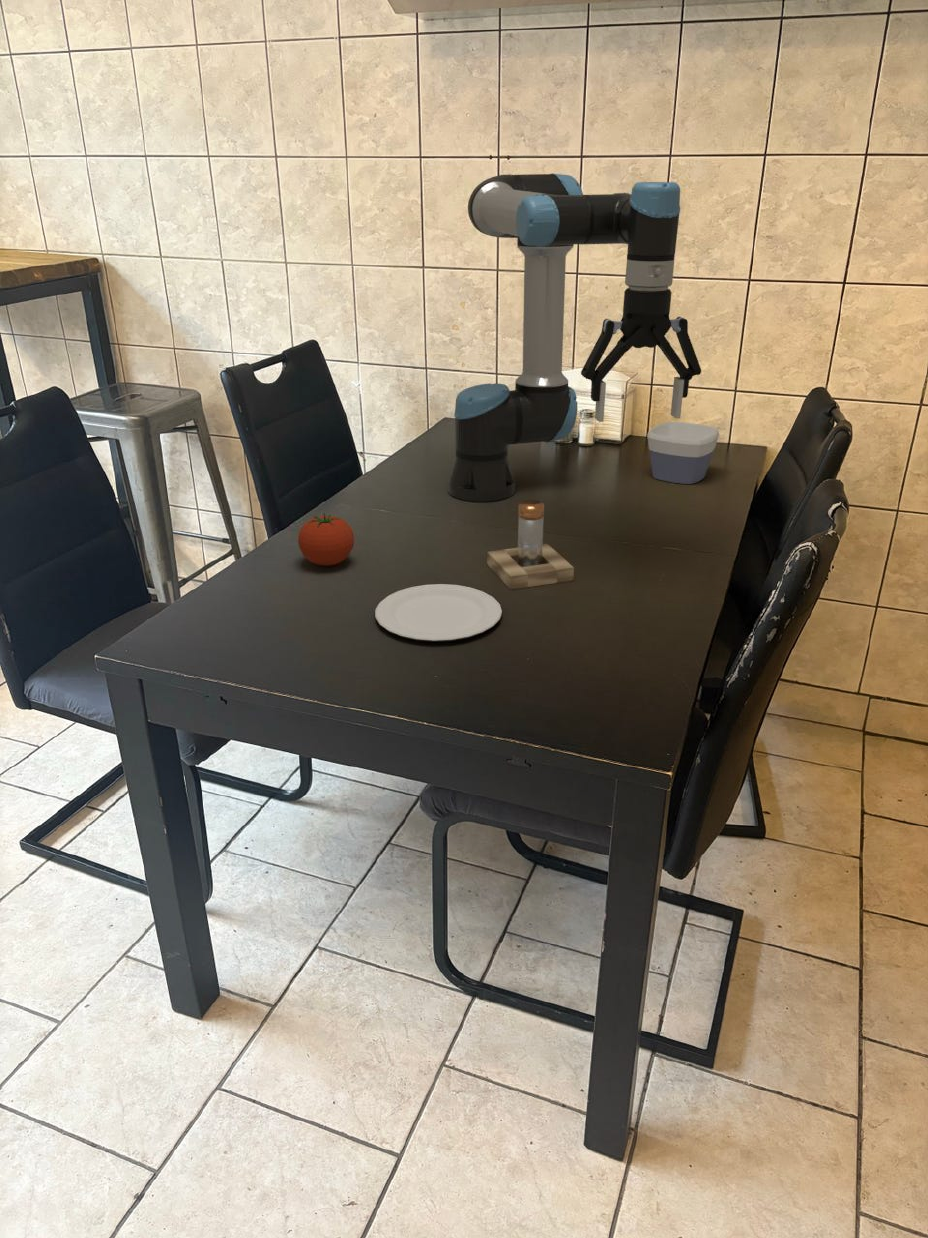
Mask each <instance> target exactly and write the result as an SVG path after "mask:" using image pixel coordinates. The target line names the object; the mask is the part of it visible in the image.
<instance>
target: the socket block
mask: <svg viewBox="0 0 928 1238" xmlns="http://www.w3.org/2000/svg"><path fill="white" fill-rule="evenodd" d="M486 554H487V556H486V557H487V559H486V560H487V561H486V563H487V565H488V566H489V568H490V569H491V570H492V571H493V572H494V573H495V575H496V576H497V577H498V578H499V579H500V580H501V581H502V582H503V583H504V584H505V586H507V588H508V589H509V590H517V589H518V590H519V589H525V588H532V587H537V586H538V587H539V586H546V585H551V584H558V583H566V582H572V581H574V573H575V566H573V565H572V564H571V563H569V562H568V561H567V560H566V559H565V558H564V557H563V556H561V554H559V552H557V551H556V550H555V549H554V548H552V546H550V545H549V544H548V543H543V546H542V564H541V565H534V566H527V567H520V566H519V565H518V547H513V548H504V549H499V550H491V551H487V553H486Z"/></svg>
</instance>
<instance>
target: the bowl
mask: <svg viewBox="0 0 928 1238" xmlns="http://www.w3.org/2000/svg"><path fill="white" fill-rule="evenodd" d="M646 436H647V444H648V450H649V451H648V452H649V458H650V465H651V472H652V478H653V479H656V480H658V481H662V482H667V483H673V484H682V485H694V484H697V483H698V482H700V481H701V480H703V479H704V478H705V476H706V474H707V471H708V468H709V465H710V462H711V460H712V456H713V455H714V451H715V449H716V446H717V444H718V440H719V437H720V432H719V429H718V428H717V427H714V426H708V425H704V424H697V423H690V422H681V421H665V422H661V423H659V424H657V425H655V426H653V427H652V428H650V430H649V431H648V432H647V435H646Z"/></svg>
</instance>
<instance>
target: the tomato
mask: <svg viewBox="0 0 928 1238" xmlns="http://www.w3.org/2000/svg"><path fill="white" fill-rule="evenodd" d="M297 542H298V547H299V549H300V552H301V553H302V555H303V556H304V558H306V559H307V560H308V561H309V562H311V563H313V564H316V565H317V566H318V565H319V566H326V567H327V566H328V567H329V566H334V565H338V564H339V563H342V562H343V561H344V560H346V559H347V558H348V557H349V556H350V554H351V552H352V550H353V548H354V545H355V543H354V542H355V536H354V531H353V530H352V528H351V526H350V525H349V523H348V522H346V521H345V520H344V519H343V518H341V517H338V516H335V515H331V514H326V513H325V512H323V515H320V516H319V515H315V516H313V517H311V518H310V519H308V520H307V521H306V522H305V523H304V524H303V525H302V526H301V528H300V530H299V534H298V537H297Z"/></svg>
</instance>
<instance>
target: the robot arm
mask: <svg viewBox="0 0 928 1238" xmlns="http://www.w3.org/2000/svg"><path fill="white" fill-rule="evenodd" d="M631 189H632V190H631V193H628V192H619V193H618V192H615V193H612V194H611V193H609V194H608V193H607V194H606V193H604V194H600V193H599V194H584V192H583V190H582V187H581V185H580V183H579V181H578V180H577V179H576V178H575V177H573V176H572V175H569V174H561V173H546V174H545V173H544V174H542V173H541V174H540V173H539V174H538V173H535V174H533V173H531V174H525V173H524V174H499V175H495V176H492V177H488V178H486V179H485V180H483V181H482V182H480V183H478V184H477V185H476V187H475V188H474V189H473V191H472V192H471V194H470V196H469V199H468V202H467V203H468V204H467V213H468V217H469V221H470V222H471V225H472V226H473V227H474V228H475V229H476V230H477V231H478V232H479V233H482V234H484V235H486V236H490V237H493V238H503V239H508V238H509V239H517V240H516V241H517V242H516V243H517V244H516V245H517V249H519V251H520V252H521V253H522V254H523V257H524V259H523V260H524V265H523V266H524V267H523V269H524V271H523V317H522V318H523V320H522V321H523V324H522V325H523V328H522V372H521V374H520V375H519V376H518V377H517V378H516V379H515V386H514V387H515V388H514V390H511V389H510V388H509V387H508V385H506V384H504V383H481V384H476V385H472V386H470V387H468V388H467V387H466V388H465V389H463V390H461V391H460V392H459V393H458V394H457V396H456V398H455V405H454V406H455V407H454V419H455V421H454V422H455V423H454V424H455V460H454V463H453V466H452V468H451V471H450V476H449V479H448V482H447V483H448V484H447V487H448V488H447V489H448V490H447V492H448V494H449V495H451V497H453V498H456V499H460V500H462V501H467V502H468V501H469V502H482V503H483V502H484V503H485V502H496V501H501V500H505V499H508V498H510V497H512V496H513V495H514V494H515V492H516V482H515V477H514V476H513V475H514V474H513V471H512V468H511V466H510V462H509V457H508V456H509V455H508V454H509V453H508V451H509V449H508V448H509V446H510V445H516V444H519V445H521V444H530V443H531V444H532V443H534V444H535V443H551V442H555V441H560V440H564V439H565V438H567V437H568V436H569V435H570V434H571V432H572V431H573V429H574V427H575V424H576V421H577V415H578V401H577V398H578V397H577V393H576V391H575V389H574V388H572V387H571V386H569V379H568V378H567V377H566V376H565V375H564V374H563V348H564V347H563V346H564V345H563V343H564V322H565V321H564V317H565V316H564V315H565V295H566V293H565V292H566V291H565V290H566V287H565V286H566V265H567V264H566V263H567V262H566V261H567V260H566V259H567V257H566V256H567V255H568V253H569V252H570V251H572V250H573V248H574V245H582V246H583V245H613V244H615V245H616V244H618V245H619V244H622V245H627V250H626V251H627V252H626V253H627V254H626V266H625V279H624V284H625V286H627V288H626V289H625V290H624V292H623V293H624V294H623V305H622V306H623V307H622V308H623V309H622V317H621V320H620V321H619V320H618V321H617V320H611V319H609V318H605V319H604V320H603V321H602V327H601V333H600V334H599V336H598V338H597V341H596V342H595V344H594V346H593V348H592V350H591V351H590V353H589V356H588V357H587V360H586V361H585V364H584V365H583V366H582V369H581V371H580V375H581V376H582V377H583V378H585V379H586V380H589V381H591V383H590V384H591V386H590V398H591V401H593V402H595V406H594V407H595V410H594V419H595V420H596V421H597V422H598V423H603V422H604V421H605V404H606V392H607V391H606V390H607V388H606V387H607V382H605V381H604V379H605V377H607V375H608V374H609V372H611V370H613V368H614V367H615V366H616V365H617V363H618V362H619V361H620V359H621V358H622V357H623V356H624V355H625V354H626V353H627V352H629V351H630V349H631V348H632V347H633V348H635V349H643V348H650V349H651V348H655V347H657V346H658V348H659V349H660V350H661V352H662V353H663V355H664V356H665V357H666V359H667V360H668V362H669V363H670V364H671V366H672V367H673V368H674V369H675V371H676V372H677V374H678V375H679V376H673V377H674V378H673V387H672V395H671V407H670V415H671V417H672V418H674V419H676V420H677V419H681V413H682V404H683V398H687V397H688V395H689V387H690V385H689V384H690V381H691V380H692V379H693V377H694V376H700V374H701V373H702V368H701V364H700V363H699V360H698V357H697V354H696V352H695V349H694V345H693V343H692V341H691V338H690V335H689V331H688V329H689V327H688V326H689V325H688V323H689V322H688V319H687V318H684V317H682V316H678V317H676V318H675V319H674V318H672V319H670V313H671V312H670V311H671V301H672V291H671V289H670V288H669V287H671V286H672V285H673V281H674V280H673V279H674V269H675V255H676V248H677V238H678V229H679V219H680V213H681V205H680V203H681V200H680V199H681V187H680V185H679V183H677V182H673V181H638V182H636V183H635V184H634V185H633V186H632V188H631ZM670 329H672V331H673V332H674V333H675V334H676V337H677V340H678V342H679V345H680V348H681V351H682V354H683V357H684V360H685V362H686V364H687V367H686V365H685V364H684V362H683V361H682V360H681V359H680V357H679V355H678V354H677V352H676V351H675V350H674V349H673V347H672V346H671V345H672V344H670V342H669V340H668V338H667V337H666V335H667V333H668V332H669V330H670ZM618 330H620V331H621V333H622V336H621V337H620V339H618V341H617V342H616V345H615V346H614V347H613V349H612V350H611V351H610V352H609V353H608V354H607V356H605V358H604V359H603V360H602V358H603V356H604V354H605V352H606V350H607V348H608V346H609V344H610V342H611V341H612V338H613V335H615V334H616V333H617V331H618ZM601 360H602V361H601Z"/></svg>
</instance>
